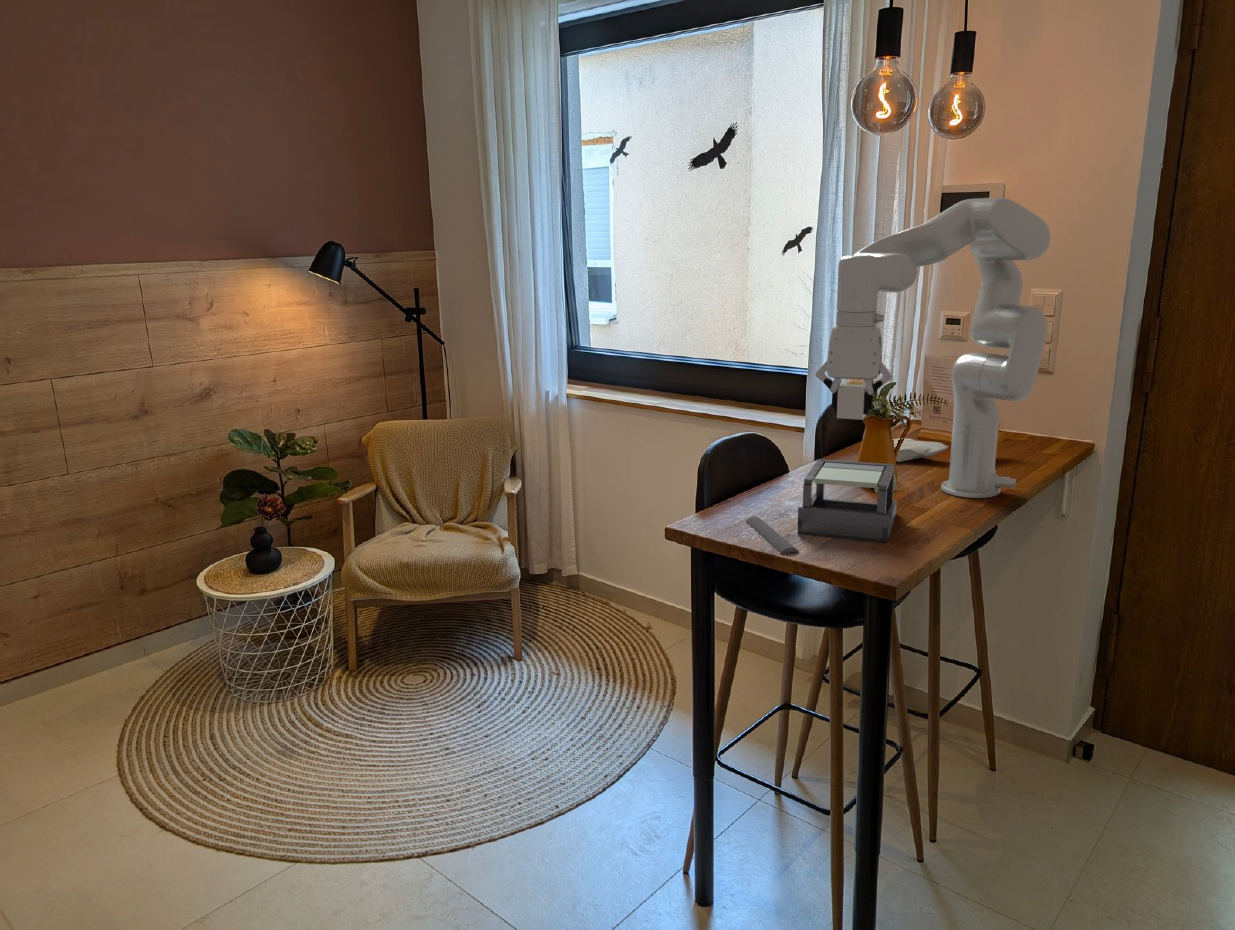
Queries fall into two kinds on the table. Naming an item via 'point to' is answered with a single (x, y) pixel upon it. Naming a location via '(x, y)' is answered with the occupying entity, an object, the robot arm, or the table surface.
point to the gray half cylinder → (770, 535)
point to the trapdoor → (850, 475)
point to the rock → (917, 449)
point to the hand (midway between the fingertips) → (851, 411)
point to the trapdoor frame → (848, 509)
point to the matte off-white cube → (851, 401)
